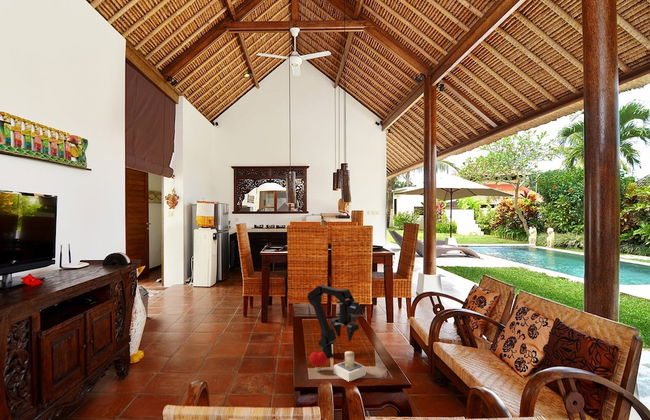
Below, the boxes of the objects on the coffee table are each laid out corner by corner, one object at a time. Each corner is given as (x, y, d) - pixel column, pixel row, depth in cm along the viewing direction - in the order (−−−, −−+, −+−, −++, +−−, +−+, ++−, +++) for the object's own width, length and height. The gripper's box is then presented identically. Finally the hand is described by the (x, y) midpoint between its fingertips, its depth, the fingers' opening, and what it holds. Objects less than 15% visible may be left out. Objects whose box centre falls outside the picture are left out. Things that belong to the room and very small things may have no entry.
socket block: (333, 373, 178) (333, 364, 178) (350, 367, 185) (350, 358, 185) (348, 381, 168) (348, 372, 168) (365, 374, 176) (365, 365, 176)
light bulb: (326, 368, 184) (326, 349, 184) (327, 374, 177) (327, 354, 177) (309, 368, 183) (309, 350, 184) (309, 374, 176) (309, 355, 177)
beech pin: (343, 372, 178) (343, 351, 179) (352, 371, 180) (352, 350, 180) (346, 376, 174) (346, 355, 174) (355, 375, 175) (355, 354, 175)
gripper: (365, 312, 191) (366, 340, 190) (344, 306, 205) (344, 332, 205) (351, 316, 184) (351, 345, 183) (330, 309, 198) (330, 335, 198)
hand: (344, 339), depth 192 cm, fingers open, 9 cm apart
